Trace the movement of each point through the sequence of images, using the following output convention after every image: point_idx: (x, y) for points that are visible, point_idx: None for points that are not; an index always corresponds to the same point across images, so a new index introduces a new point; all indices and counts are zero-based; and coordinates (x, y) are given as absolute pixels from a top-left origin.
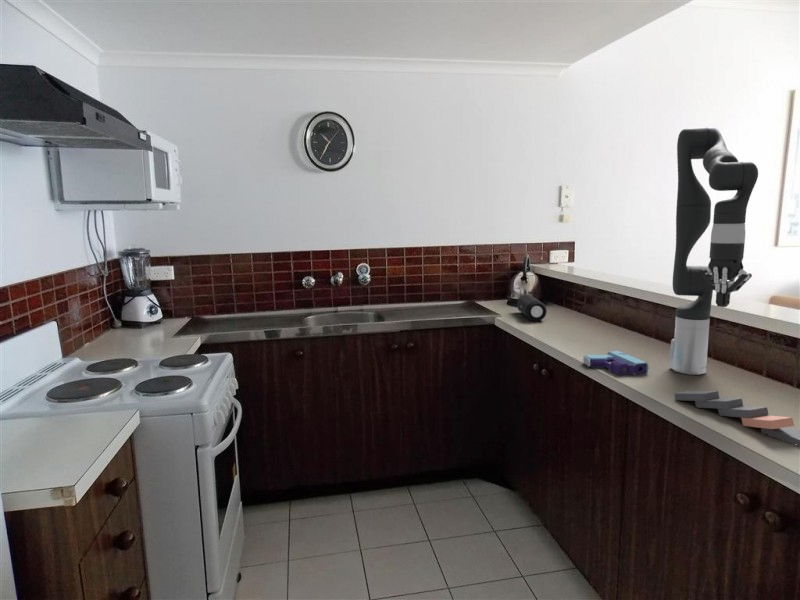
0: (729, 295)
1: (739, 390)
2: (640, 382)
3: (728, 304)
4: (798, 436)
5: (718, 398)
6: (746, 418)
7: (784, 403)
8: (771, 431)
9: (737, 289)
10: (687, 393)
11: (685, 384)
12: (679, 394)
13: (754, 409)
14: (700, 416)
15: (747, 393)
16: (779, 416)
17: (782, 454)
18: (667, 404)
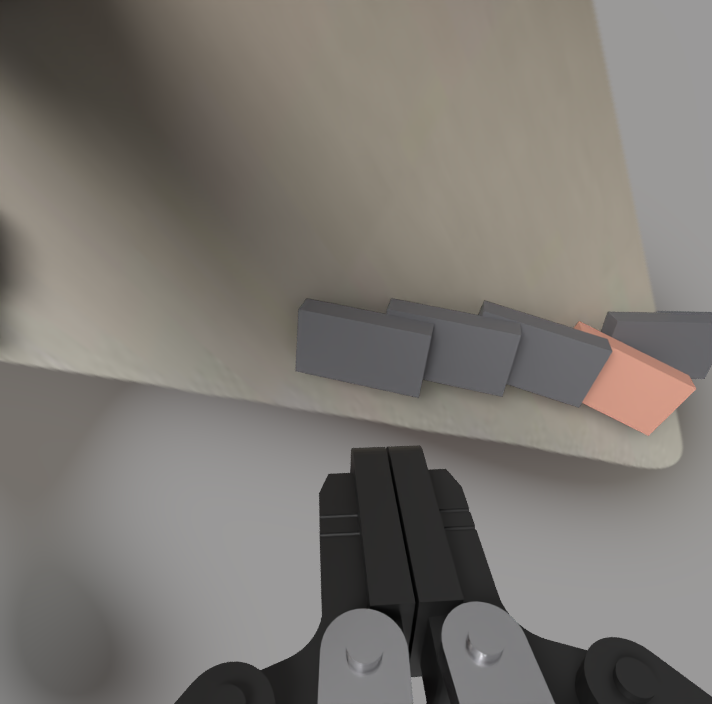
0: (489, 588)
1: (348, 6)
2: (87, 313)
3: (447, 476)
4: (685, 361)
5: (434, 329)
6: None
7: (558, 11)
8: None
9: (656, 689)
10: (350, 381)
11: (173, 167)
12: (318, 374)
13: (587, 391)
14: (432, 403)
15: (394, 19)
16: (651, 368)
17: (658, 432)
18: (319, 406)
